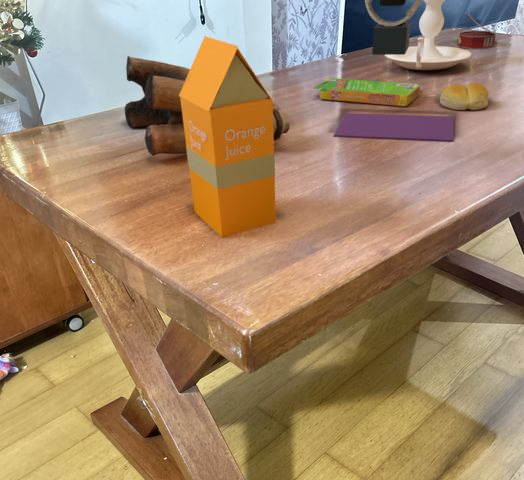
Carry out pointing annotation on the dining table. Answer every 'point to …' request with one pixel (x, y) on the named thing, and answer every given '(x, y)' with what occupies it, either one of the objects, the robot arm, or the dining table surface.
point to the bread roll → (465, 97)
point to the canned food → (476, 38)
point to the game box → (368, 91)
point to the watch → (391, 32)
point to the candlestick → (430, 44)
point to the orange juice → (229, 140)
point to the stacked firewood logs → (167, 106)
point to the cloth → (396, 127)
